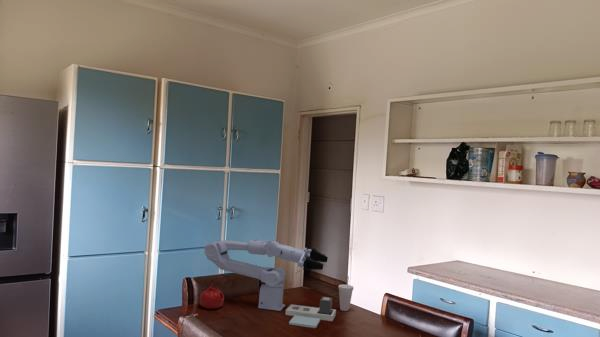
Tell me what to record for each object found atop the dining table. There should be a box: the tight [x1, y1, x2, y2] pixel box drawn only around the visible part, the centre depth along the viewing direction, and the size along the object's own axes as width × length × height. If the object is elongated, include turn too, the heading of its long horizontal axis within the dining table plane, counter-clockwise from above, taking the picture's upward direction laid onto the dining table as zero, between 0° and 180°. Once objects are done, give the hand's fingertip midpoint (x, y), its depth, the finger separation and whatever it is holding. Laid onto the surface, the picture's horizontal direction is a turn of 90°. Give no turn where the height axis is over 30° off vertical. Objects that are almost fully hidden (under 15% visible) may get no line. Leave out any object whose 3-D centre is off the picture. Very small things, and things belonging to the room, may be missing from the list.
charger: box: [319, 296, 333, 315], centre depth 172 cm, size 4×6×7 cm
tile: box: [288, 315, 321, 329], centre depth 163 cm, size 10×9×1 cm
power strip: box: [285, 303, 337, 322], centre depth 173 cm, size 18×9×2 cm, turn 77°
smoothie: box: [338, 275, 354, 312], centre depth 183 cm, size 6×6×14 cm
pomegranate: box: [199, 283, 225, 310], centre depth 175 cm, size 10×10×9 cm
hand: (325, 263), depth 175 cm, fingers open, 7 cm apart
